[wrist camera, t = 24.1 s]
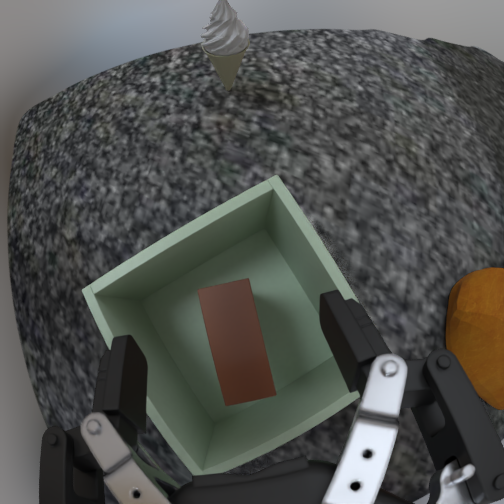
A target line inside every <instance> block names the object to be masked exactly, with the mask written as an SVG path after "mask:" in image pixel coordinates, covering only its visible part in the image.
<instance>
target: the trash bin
mask: <svg viewBox="0 0 504 504" xmlns="http://www.w3.org/2000/svg"><path fill="white" fill-rule="evenodd" d="M246 278H249V280H250V284H251V289H252V293H253V297H254V302H255V306H256V310H257V314H258V318H259V323H260V327H261V331H262V335H263V340H264V344H265V348H266V352H267V356H268V360H269V365H270V369H271V373H272V377H273V381H274V385H275V389H276V394H277V395H276V396H273V397H269V398H264V399H260V400H255V401H251V402H246V403H241V404H236V405H231V406H225V403H224V399H223V395H222V392H221V388H220V384H219V381H218V377H217V373H216V369H215V365H214V361H213V357H212V353H211V349H210V345H209V341H208V337H207V332H206V328H205V324H204V319H203V315H202V310H201V306H200V301H199V297H198V292H197V290H198V289H200V288H205V287H210V286H214V285H219V284H223V283H228V282H232V281H237V280H241V279H246ZM336 289H338V290H339V291H340V293H341V294H342V296H343V298H344V299H345V300H347V299H350V298H353V299H354V300H355V301H357V302H358V303H359V301H358V300H357V298H356V296H355V295H354V293H353V291H352V290H351V288H350V286H349V285H348V283H347V281H346V280H345V278H344V276H343V275H342V273H341V271H340V270H339V268H338V266H337V265H336V263H335V262H334V260H333V258H332V257H331V255H330V254H329V252H328V250H327V249H326V247H325V246H324V244H323V242H322V241H321V239H320V238H319V236H318V235H317V233H316V232H315V230H314V228H313V227H312V225H311V224H310V222H309V221H308V219H307V218H306V216H305V215H304V213H303V212H302V210H301V209H300V207H299V206H298V204H297V203H296V201H295V200H294V198H293V197H292V195H291V194H290V192H289V191H288V189H287V188H286V187H285V185H284V184H283V182H282V181H281V179H280V178H279V177H278V175H275V176H273V177H271V178H270V179H268V180H266V181H264V182H262V183H260V184H258V185H256V186H254V187H252V188H251V189H249V190H247V191H245V192H243V193H241V194H239V195H238V196H236V197H234V198H232V199H230V200H229V201H227V202H225V203H223V204H221V205H220V206H218V207H216V208H214V209H212V210H211V211H209V212H207V213H205V214H204V215H202V216H200V217H198V218H197V219H195V220H193V221H191V222H190V223H188V224H186V225H185V226H183V227H181V228H179V229H178V230H176V231H174V232H173V233H171V234H169V235H168V236H166V237H164V238H163V239H161V240H159V241H158V242H156V243H154V244H153V245H151V246H149V247H148V248H146V249H145V250H143V251H141V252H140V253H138V254H136V255H135V256H133V257H132V258H130V259H129V260H127V261H125V262H124V263H122V264H121V265H119V266H117V267H116V268H114V269H113V270H111V271H110V272H108V273H107V274H105V275H104V276H102V277H100V278H99V279H97V280H96V281H94V282H93V283H91V284H90V285H88V286H87V287H85V288H84V289H83V290H82V292H83V294H84V297H85V299H86V301H87V304H88V306H89V308H90V310H91V313H92V315H93V317H94V319H95V321H96V323H97V326H98V328H99V330H100V332H101V334H102V336H103V338H104V340H105V342H106V344H107V346H108V348H109V350H111V344H112V340H113V338H114V337H116V336H122V335H129V334H130V335H132V337H133V338H134V340H135V341H136V343H137V344H138V346H139V347H140V349H141V350H142V352H143V353H144V355H145V357H146V360H147V364H148V377H147V403H146V412H147V414H148V415H149V417H150V418H151V420H152V421H153V423H154V424H155V426H156V427H157V429H158V430H159V431H160V433H161V434H162V436H163V437H164V438H165V440H166V441H167V442H168V444H169V445H170V446H171V448H172V449H173V450H174V452H175V453H176V454H177V456H178V457H179V458H180V459H181V461H182V462H183V463H184V464H185V466H186V467H187V468H188V469H189V470H190V472H191V473H192V474H193V475H205V474H215V473H223V472H225V471H228V470H230V469H233V468H235V467H237V466H240V465H242V464H244V463H246V462H248V461H251V460H253V459H255V458H257V457H259V456H261V455H263V454H265V453H267V452H269V451H271V450H273V449H275V448H277V447H279V446H281V445H283V444H285V443H286V442H288V441H290V440H292V439H294V438H296V437H297V436H299V435H301V434H303V433H304V432H306V431H308V430H309V429H311V428H313V427H314V426H316V425H318V424H319V423H321V422H323V421H324V420H326V419H327V418H329V417H331V416H332V415H334V414H335V413H337V412H338V411H340V410H341V409H343V408H344V407H346V406H347V405H349V404H350V403H351V402H353V401H354V400H356V399H357V398H359V397H360V395H359V392H358V391H355V392H352V393H350V392H349V390H348V387H347V385H346V383H345V381H344V378H343V376H342V374H341V372H340V370H339V367H338V365H337V363H336V361H335V358H334V356H333V354H332V352H331V350H330V347H329V345H328V343H327V341H326V339H325V337H324V334H323V332H322V330H321V326H320V321H319V304H320V294H322V293H325V292H329V291H333V290H336Z"/></svg>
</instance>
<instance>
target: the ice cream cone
mask: <svg viewBox="0 0 504 504" xmlns="http://www.w3.org/2000/svg"><path fill="white" fill-rule="evenodd" d="M211 14H212V16H210V19H211V20H210V21H211V23H210V24H208V25H206V26H205V27H203V29H207V32H206V33H204V34H201V37H202V38H205V39H204V41H203V43H202V49H203V50H204V51H205V52H206V54H207V55H208V57H209V59H210V61H211V62H212V64H213V66H214V68H215V70H216V72H217V73H218V75H219V77H220V79H221V81H222V82H223V84H224V86H225V88H226V90H227V91H230V90H231V87H232V85H233V82H234V80H235V77H236V74H237V72H238V69H239V67H240V64H241V62H242V59H243V56H244V54H245V52H246V49H247V48H248V47H249V44H250V42H249V39H248V36H249V34H248V28H247V26H246V25H245V24H244V23H243V22H242V21H241V20H239V19H238V18H237V12H236V11H235V10H234V9H232V8H231V6H230V5H229V3H228V2H227V0H219V1H218V3H217V5H216V7H215V8H214V10H213V11H212V12H211Z"/></svg>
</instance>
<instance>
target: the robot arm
mask: <svg viewBox="0 0 504 504" xmlns="http://www.w3.org/2000/svg"><path fill="white" fill-rule="evenodd" d="M319 321H320V326H321V330H322V332H323V334H324V337H325V339H326V341H327V343H328V345H329V347H330V350H331V352H332V354H333V356H334V358H335V361H336V363H337V365H338V367H339V370H340V372H341V374H342V376H343V378H344V381H345V383H346V385H347V387H348V390H349V392H350V393H352V392H355V391H358V392H359V395H360V397H361V398H360V401H359V404H358V407H357V410H356V413H355V416H354V419H353V422H352V425H351V427H350V430H349V433H348V436H347V438H346V441H345V443H344V446H343V448H342V450H341V453H340V455H339V458H338V460H337V463H336V464H334V463H331V462H327V461H321V460H307V457H306V456H302V457H299V458H295V459H291V460H287V461H283V462H278V463H276V464H274V465H272V466H270V467H267V468H265V469H263V470H261V471H258V472H256V473H254V474H251V475H237V474H225V473H215V474H205V475H194V476H192V480H193V481H191V482H189V483H187V484H185V485H183V486H180V485H179V484H177V483H176V482H175V481H174V480H173V479H172V478H171V477H170V476H168V475H167V474H166V473H165V472H164V471H163V470H162V469H161V468H160V467H159V466H158V465H157V464H156V462H155V461H154V460H153V459H152V458H151V457H150V455H149V454H148V453H147V452H146V451H145V449H144V448H143V447H142V446H141V445H140V443H139V442H138V441H137V434H146V403H147V377H148V364H147V360H146V357H145V355H144V353H143V352H142V350H141V349H140V347H139V346H138V344H137V343H136V341H135V340H134V338H133V337H132V335H130V334H129V335H122V336H116V337H114V338H113V340H112V344H111V350H106V351H105V353H104V355H103V356H102V358H101V360H100V365H99V370H98V371H99V372H98V376H97V382H96V388H95V395H94V402H93V409H92V413H91V414H89V415H87V416H86V417H85V418H84V420H83V421H82V424H81V426H79V427H76V428H73V429H70V430H67V431H64V430H63V429H61V428H60V427H58V426H52V427H50V428H48V429H47V430H46V431H45V433H44V435H43V437H42V446H41V458H40V479H39V504H105V496H104V482H105V483H106V485H107V486H108V488H109V489H110V491H111V492H112V493H113V495H114V496H115V497H116V499H117V500H118V501H119V503H120V504H414V503H412V502H410V501H407V500H405V499H403V498H401V497H398V496H396V495H394V494H392V493H390V492H388V491H386V490H384V489H382V488H380V486H381V483H382V481H383V478H384V475H385V472H386V469H387V466H388V463H389V460H390V457H391V453H392V450H393V446H394V443H395V439H396V436H397V432H398V428H399V421H398V415H399V411H400V409H402V408H411V410H412V412H413V414H414V417H415V419H416V421H417V424H418V426H419V428H420V431H421V433H422V436H423V438H424V440H425V443H426V445H427V448H428V450H429V453H430V456H431V458H432V461H433V463H434V466H435V469H436V472H435V473H434V474H433V476H432V477H431V479H430V482H429V491H430V497H429V501H428V503H427V504H490V503H493V502H495V501H498V500H501V499H503V498H504V448H503V445H502V443H501V440H500V438H499V436H498V434H497V432H496V430H495V427H494V425H493V423H492V421H491V419H490V417H489V415H488V413H487V411H486V409H485V407H484V405H483V403H482V401H481V399H480V398H479V396H478V394H477V392H476V390H475V388H474V387H473V385H472V383H471V381H470V379H469V378H468V376H467V374H466V372H465V371H464V369H463V367H462V366H461V364H460V362H459V361H458V359H457V357H456V356H455V355H454V354H453V353H452V352H451V351H449V350H447V349H436V350H434V351H432V352H431V353H430V354H429V356H428V358H424V359H415V360H404V359H402V358H401V357H399V356H398V355H395V354H393V353H392V352H391V351H390V350H389V348H388V347H387V345H386V343H385V342H384V340H383V338H382V337H381V335H380V333H379V332H378V330H377V329H376V327H375V325H374V324H373V323H372V320H371V319H370V317H369V316H368V314H367V313H366V311H365V309H364V308H363V306H362V305H361V304H360V303H358V302H357V301H355V300H354V299H353V298H350V299H347V300H345V299H344V298H343V296H342V294H341V293H340V291H339V290H338V289H336V290H333V291H329V292H325V293H322V294H320V304H319ZM103 471H104V473H105V475H103Z"/></svg>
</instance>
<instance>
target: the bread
mask: <svg viewBox="0 0 504 504" xmlns="http://www.w3.org/2000/svg"><path fill="white" fill-rule="evenodd" d="M445 337H446V347H447V350H449V351H451V352H452V353H453V354H454V355H455V356H456V357H457V359H458V361H459V362H460V364H461V366H462V367H463V369H464V371H465V372H466V374H467V376H468V378H469V379H470V381H471V383H472V385H473V387H474V388H475V390H476V392H477V394H478V396H479V397H481V398H482V399H483V400H484V401H486V402H487V403H488V404H490V405H491V406H493V407H495V408H496V409H498V410H503V409H504V268H484V269H482V270H477V271H474V272H472V273H469V274H467V275H466V276H464V277H463V278H461V279H460V280H459V281H458V282H457V283H456V284H455V285H454V286H453V288H452V290H451V293H450V296H449V303H448V310H447V320H446V336H445Z"/></svg>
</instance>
